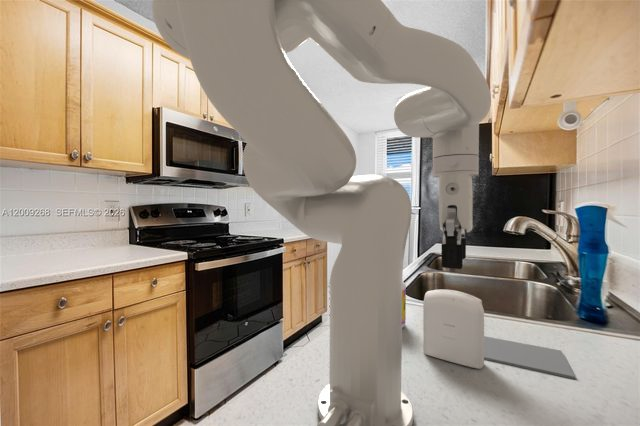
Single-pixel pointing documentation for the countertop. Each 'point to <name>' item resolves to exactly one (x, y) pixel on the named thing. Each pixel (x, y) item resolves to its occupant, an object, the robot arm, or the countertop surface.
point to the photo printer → (454, 327)
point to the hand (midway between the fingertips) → (454, 262)
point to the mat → (527, 356)
